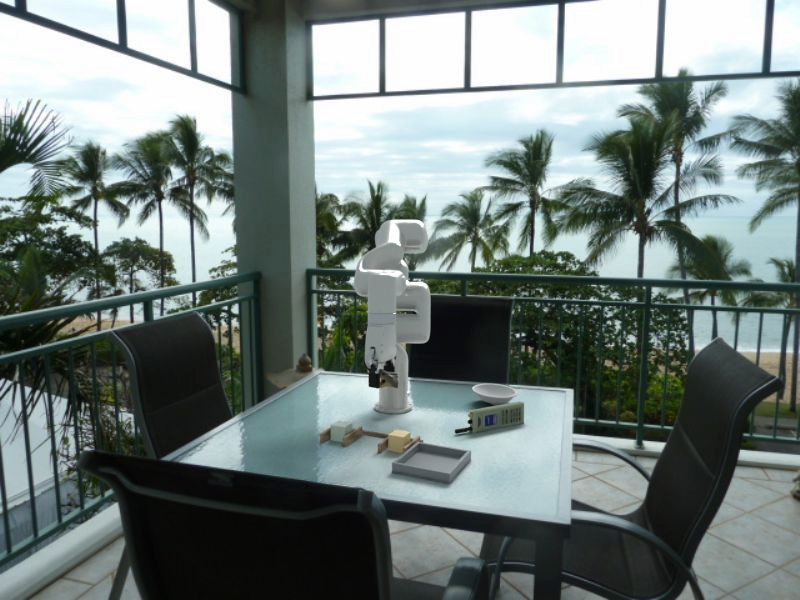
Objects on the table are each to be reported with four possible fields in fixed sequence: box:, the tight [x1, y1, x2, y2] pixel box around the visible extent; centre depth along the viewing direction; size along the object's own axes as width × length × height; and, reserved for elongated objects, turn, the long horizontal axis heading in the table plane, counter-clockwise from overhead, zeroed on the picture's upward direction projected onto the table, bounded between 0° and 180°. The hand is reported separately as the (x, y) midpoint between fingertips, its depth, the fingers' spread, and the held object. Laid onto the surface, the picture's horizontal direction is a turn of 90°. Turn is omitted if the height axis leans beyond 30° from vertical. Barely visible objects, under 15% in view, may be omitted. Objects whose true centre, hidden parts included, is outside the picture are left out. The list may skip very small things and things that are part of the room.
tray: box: [391, 441, 472, 485], centre depth 149 cm, size 16×15×2 cm
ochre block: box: [387, 429, 412, 454], centre depth 160 cm, size 4×4×4 cm
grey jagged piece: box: [376, 369, 398, 390], centre depth 158 cm, size 8×6×7 cm
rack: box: [319, 426, 424, 454], centre depth 165 cm, size 12×26×2 cm, turn 65°
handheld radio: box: [454, 401, 525, 435], centre depth 178 cm, size 7×3×25 cm
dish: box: [471, 383, 519, 406], centre depth 201 cm, size 18×14×5 cm
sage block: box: [330, 419, 353, 443], centre depth 168 cm, size 4×4×4 cm
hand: (381, 383), depth 159 cm, fingers closed on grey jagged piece, 7 cm apart
